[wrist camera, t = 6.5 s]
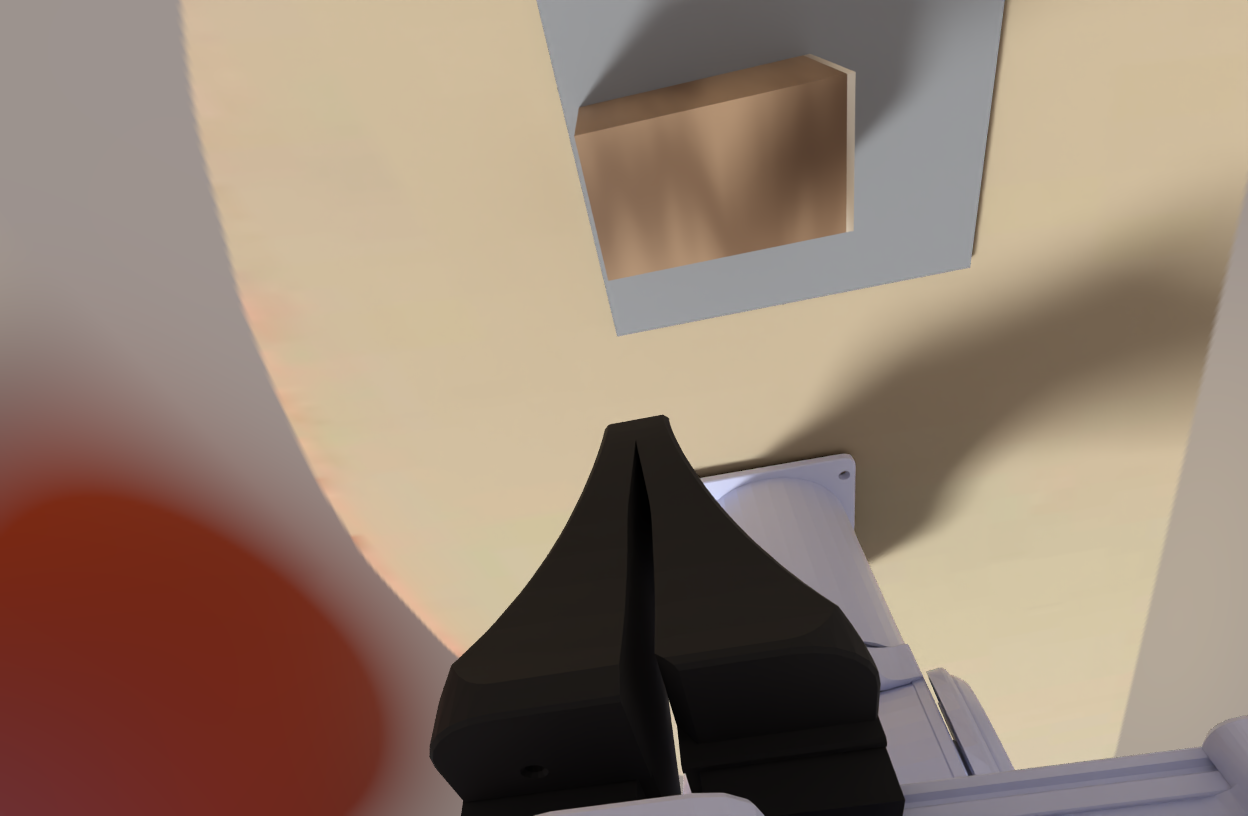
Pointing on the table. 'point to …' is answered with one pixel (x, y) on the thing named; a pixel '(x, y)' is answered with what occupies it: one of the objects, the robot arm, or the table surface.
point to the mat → (884, 132)
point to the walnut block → (720, 165)
